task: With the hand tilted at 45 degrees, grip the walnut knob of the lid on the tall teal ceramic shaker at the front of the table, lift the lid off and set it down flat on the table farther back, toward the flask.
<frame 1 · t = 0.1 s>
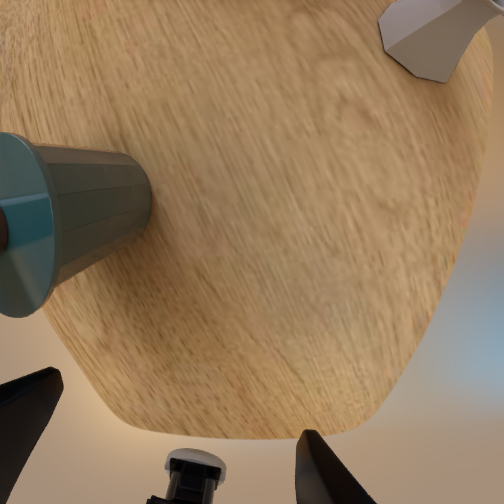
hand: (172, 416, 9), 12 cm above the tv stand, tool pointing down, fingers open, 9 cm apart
lid: (0, 226, 9), point 10 cm above the tv stand, touching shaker
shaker: (108, 200, 19), on the tv stand
flask: (417, 42, 15), on the tv stand
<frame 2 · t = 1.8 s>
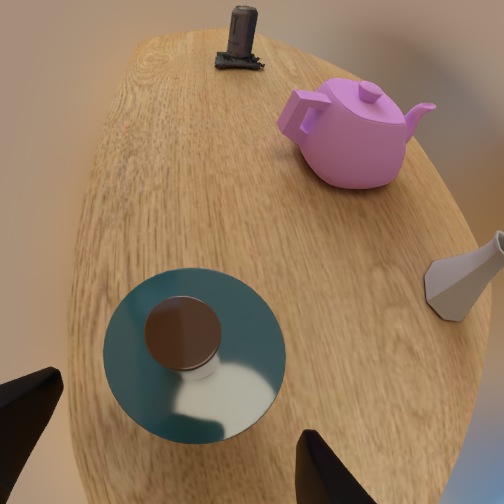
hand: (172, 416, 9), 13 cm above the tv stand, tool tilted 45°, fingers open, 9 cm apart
teapot: (345, 158, 35), on the tv stand
lid: (192, 354, 12), point 10 cm above the tv stand, touching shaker
flask: (445, 292, 27), on the tv stand
beverage can: (235, 64, 47), on the tv stand
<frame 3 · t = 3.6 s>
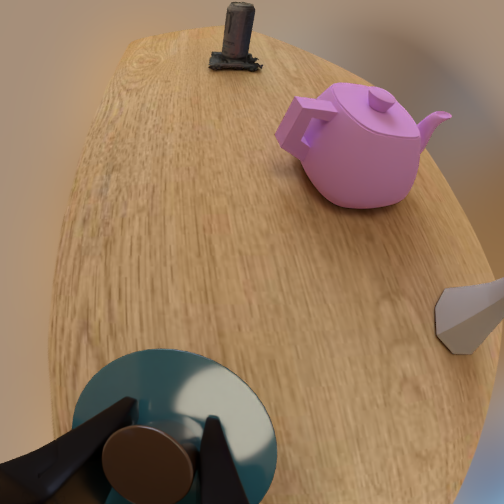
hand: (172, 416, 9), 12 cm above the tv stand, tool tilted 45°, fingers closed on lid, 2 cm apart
teapot: (351, 172, 32), on the tv stand
lid: (169, 447, 9), point 11 cm above the tv stand, touching gripper, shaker
flask: (456, 323, 24), on the tv stand
beverage can: (231, 65, 43), on the tv stand
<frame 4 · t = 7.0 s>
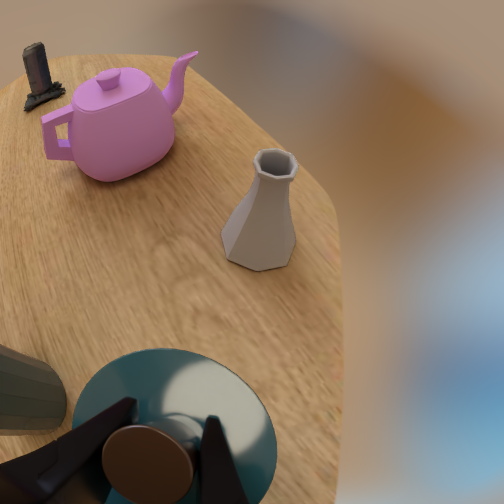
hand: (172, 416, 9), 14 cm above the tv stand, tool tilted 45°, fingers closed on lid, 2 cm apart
teapot: (128, 147, 33), on the tv stand
lid: (169, 447, 9), point 12 cm above the tv stand, touching gripper
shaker: (35, 396, 18), on the tv stand
flask: (258, 239, 29), on the tv stand
beverage can: (43, 99, 39), on the tv stand
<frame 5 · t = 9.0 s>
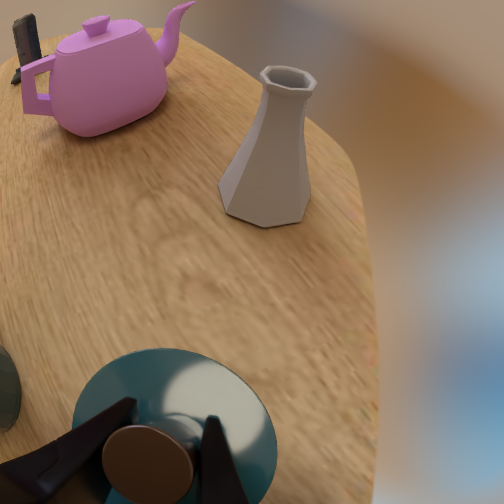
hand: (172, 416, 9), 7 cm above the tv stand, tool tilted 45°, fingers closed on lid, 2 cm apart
teapot: (116, 104, 27), on the tv stand
lid: (169, 447, 9), point 6 cm above the tv stand, touching gripper
flask: (264, 192, 23), on the tv stand
beverage can: (32, 73, 33), on the tv stand
when the fingers open (3 cm above the tv stand, at t = 10.6 s): lid stays where it is, point 1 cm above the tv stand.
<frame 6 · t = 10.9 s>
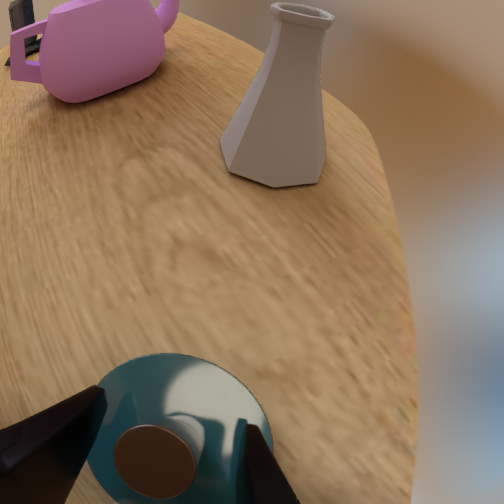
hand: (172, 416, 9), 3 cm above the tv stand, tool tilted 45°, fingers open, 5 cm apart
teapot: (109, 74, 24), on the tv stand
lid: (173, 445, 10), point 1 cm above the tv stand
flask: (272, 153, 19), on the tv stand
beverage can: (26, 55, 30), on the tv stand
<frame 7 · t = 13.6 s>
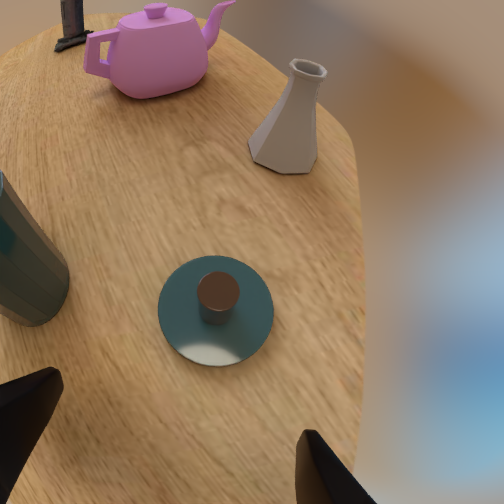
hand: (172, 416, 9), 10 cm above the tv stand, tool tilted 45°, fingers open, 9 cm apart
teapot: (161, 77, 33), on the tv stand
lid: (215, 310, 20), point 1 cm above the tv stand
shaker: (34, 284, 19), on the tv stand
flask: (282, 151, 29), on the tv stand
beverage can: (73, 44, 38), on the tv stand
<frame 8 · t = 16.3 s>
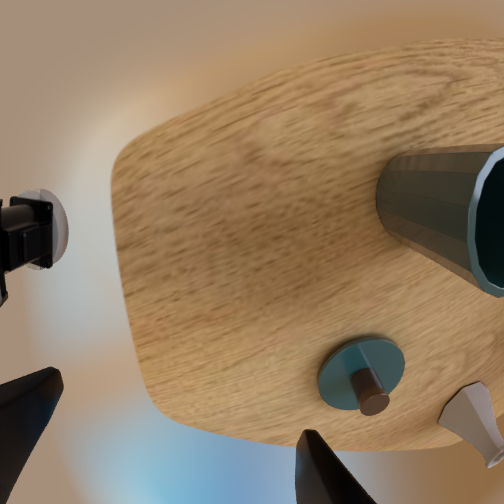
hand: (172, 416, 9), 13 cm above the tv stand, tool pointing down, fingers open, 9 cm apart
lid: (361, 374, 22), point 1 cm above the tv stand
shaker: (416, 198, 19), on the tv stand
flask: (462, 403, 25), on the tv stand
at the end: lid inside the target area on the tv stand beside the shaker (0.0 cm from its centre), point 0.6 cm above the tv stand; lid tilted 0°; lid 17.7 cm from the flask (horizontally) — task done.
